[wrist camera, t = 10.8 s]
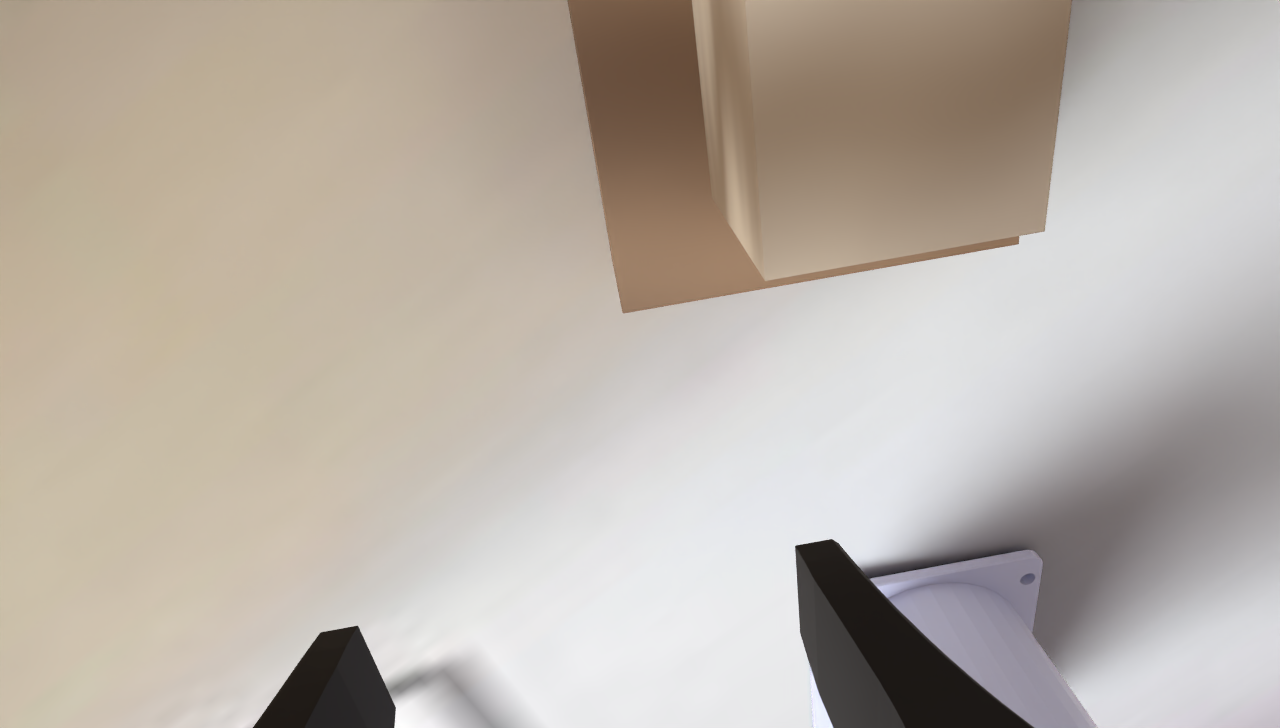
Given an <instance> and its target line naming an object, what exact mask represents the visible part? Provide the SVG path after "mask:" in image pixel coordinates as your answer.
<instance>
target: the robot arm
mask: <svg viewBox="0 0 1280 728" xmlns="http://www.w3.org/2000/svg"><path fill="white" fill-rule="evenodd" d="M795 549H796V567H797V584H798V601H799V618H800V633H801V637H802V640H803V643H804V647H805V650H806V653H807V657H808V660H809V663H810V676H811V696H812V716H813V728H1098V727H1097V726H1096V724H1095V723H1094V721H1093V720H1092V719H1091V717H1090V716H1089V714H1088V713H1087V711H1086V710H1085V709H1084V707H1083V706H1082V704H1081V703H1080V701H1079V700H1078V699H1077V697H1076V696H1075V694H1074V693H1073V691H1072V690H1071V689H1070V687H1069V686H1068V684H1067V683H1066V681H1065V680H1064V679H1063V677H1062V676H1061V674H1060V673H1059V671H1058V670H1057V669H1056V667H1055V666H1054V664H1053V663H1052V661H1051V660H1050V659H1049V657H1048V656H1047V654H1046V653H1045V651H1044V650H1043V649H1042V647H1041V646H1040V644H1039V643H1038V641H1037V640H1036V639H1035V637H1034V636H1033V634H1032V632H1033V626H1034V619H1035V613H1036V606H1037V600H1038V594H1039V587H1040V581H1041V574H1042V568H1043V561H1042V559H1041V558H1040V557H1039V556H1038V554H1037V553H1036V552H1035V551H1032V550H1022V551H1017V552H1011V553H1006V554H1000V555H995V556H990V557H984V558H979V559H973V560H968V561H962V562H957V563H951V564H946V565H941V566H935V567H930V568H924V569H919V570H913V571H908V572H903V573H897V574H892V575H886V576H881V577H875V578H870V579H869V578H868V577H867V576H866V575H865V574H864V573H863V571H862V570H861V569H860V568H859V567H858V566H857V565H856V564H855V562H854V561H853V560H852V559H851V558H850V557H849V555H848V554H847V553H846V552H845V551H844V550H843V548H842V547H841V546H840V545H839V543H837V542H835V541H834V540H832V539H830V540H825V541H819V542H814V543H808V544H803V545H797V546H795ZM395 711H396V707H395V705H394V703H393V701H392V699H391V696H390V694H389V692H388V690H387V688H386V686H385V683H384V681H383V679H382V677H381V675H380V673H379V670H378V668H377V666H376V664H375V662H374V660H373V657H372V655H371V653H370V651H369V649H368V647H367V645H366V642H365V640H364V638H363V636H362V634H361V632H360V629H359V627H358V626H354V627H348V628H343V629H337V630H332V631H326V632H321V633H320V634H319V635H318V637H317V638H316V640H315V641H314V642H313V644H312V645H311V646H310V648H309V649H308V650H307V652H306V653H305V655H304V656H303V657H302V659H301V660H300V662H299V663H298V665H297V666H296V667H295V669H294V670H293V672H292V673H291V675H290V676H289V677H288V679H287V680H286V682H285V683H284V685H283V686H282V687H281V689H280V690H279V692H278V693H277V695H276V696H275V697H274V699H273V700H272V702H271V703H270V704H269V706H268V707H267V709H266V710H265V712H264V713H263V714H262V716H261V717H260V719H259V720H258V721H257V723H256V724H255V725H254V727H253V728H394V723H395Z"/></svg>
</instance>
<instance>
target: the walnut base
mask: <svg viewBox="0 0 1280 728" xmlns="http://www.w3.org/2000/svg"><path fill="white" fill-rule="evenodd" d="M568 5H569V11H570V17H571V23H572V29H573V34H574V40H575V46H576V52H577V58H578V63H579V69H580V75H581V81H582V87H583V92H584V98H585V104H586V110H587V116H588V122H589V127H590V133H591V139H592V145H593V151H594V156H595V162H596V168H597V174H598V180H599V185H600V191H601V197H602V203H603V209H604V215H605V220H606V226H607V232H608V238H609V244H610V249H611V255H612V261H613V266H614V272H615V277H616V282H617V287H618V292H619V297H620V302H621V307H622V312H623V313H628V312H634V311H640V310H646V309H651V308H657V307H663V306H668V305H674V304H680V303H685V302H691V301H697V300H703V299H708V298H714V297H720V296H725V295H731V294H737V293H742V292H748V291H754V290H760V289H765V288H771V287H777V286H782V285H788V284H794V283H799V282H805V281H811V280H817V279H822V278H828V277H834V276H839V275H845V274H851V273H856V272H862V271H868V270H874V269H879V268H885V267H891V266H896V265H902V264H908V263H914V262H919V261H925V260H931V259H936V258H942V257H948V256H953V255H959V254H965V253H971V252H976V251H982V250H988V249H993V248H999V247H1005V246H1010V245H1016V244H1019V236H1016V237H1010V238H1004V239H999V240H993V241H987V242H982V243H976V244H971V245H965V246H959V247H954V248H948V249H942V250H937V251H931V252H926V253H920V254H914V255H909V256H903V257H897V258H892V259H886V260H881V261H875V262H869V263H864V264H858V265H852V266H847V267H841V268H836V269H830V270H824V271H819V272H813V273H807V274H802V275H796V276H791V277H785V278H779V279H774V280H768V281H765V280H764V279H763V277H762V275H761V274H760V272H759V271H758V269H757V268H756V266H755V265H754V263H753V261H752V260H751V258H750V257H749V255H748V254H747V252H746V250H745V249H744V247H743V246H742V244H741V243H740V241H739V239H738V238H737V236H736V235H735V233H734V232H733V230H732V229H731V227H730V225H729V224H728V222H727V221H726V219H725V218H724V216H723V214H722V213H721V211H720V210H719V208H718V207H717V205H716V203H715V202H714V200H713V199H712V193H711V183H710V173H709V164H708V154H707V144H706V134H705V125H704V115H703V105H702V95H701V85H700V76H699V66H698V56H697V46H696V37H695V27H694V17H693V7H692V0H568Z"/></svg>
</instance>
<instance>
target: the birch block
mask: <svg viewBox="0 0 1280 728" xmlns="http://www.w3.org/2000/svg"><path fill="white" fill-rule="evenodd" d="M1071 5H1072V0H692V7H693V17H694V27H695V37H696V46H697V56H698V66H699V76H700V85H701V95H702V105H703V115H704V125H705V134H706V144H707V154H708V164H709V173H710V183H711V193H712V199H713V200H714V202H715V203H716V205H717V207H718V208H719V210H720V211H721V213H722V214H723V216H724V218H725V219H726V221H727V222H728V224H729V225H730V227H731V229H732V230H733V232H734V233H735V235H736V236H737V238H738V239H739V241H740V243H741V244H742V246H743V247H744V249H745V250H746V252H747V254H748V255H749V257H750V258H751V260H752V261H753V263H754V265H755V266H756V268H757V269H758V271H759V272H760V274H761V275H762V277H763V279H764V280H765V281H768V280H774V279H779V278H785V277H791V276H796V275H802V274H807V273H813V272H819V271H824V270H830V269H836V268H841V267H847V266H852V265H858V264H864V263H869V262H875V261H881V260H886V259H892V258H897V257H903V256H909V255H914V254H920V253H926V252H931V251H937V250H942V249H948V248H954V247H959V246H965V245H971V244H976V243H982V242H987V241H993V240H999V239H1004V238H1010V237H1016V236H1021V235H1027V234H1032V233H1038V232H1044V231H1045V223H1046V215H1047V207H1048V198H1049V190H1050V181H1051V173H1052V164H1053V156H1054V148H1055V139H1056V131H1057V122H1058V114H1059V106H1060V97H1061V89H1062V80H1063V72H1064V64H1065V55H1066V47H1067V38H1068V30H1069V22H1070V13H1071Z"/></svg>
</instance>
